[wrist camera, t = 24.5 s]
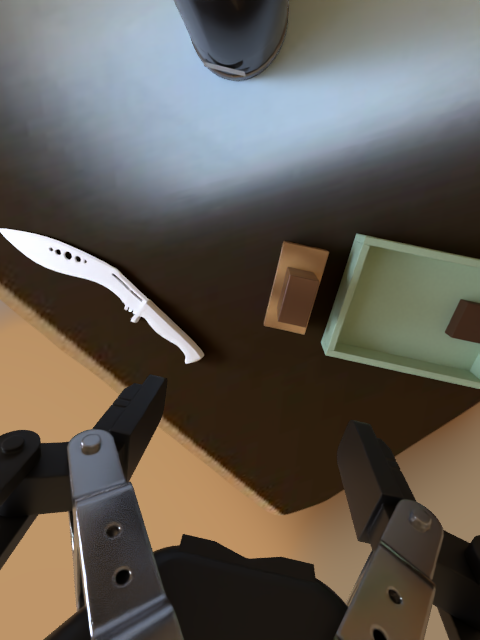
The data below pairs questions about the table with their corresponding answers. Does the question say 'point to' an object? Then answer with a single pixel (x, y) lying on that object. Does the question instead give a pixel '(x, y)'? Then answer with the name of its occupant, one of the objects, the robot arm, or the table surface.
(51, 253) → the knife
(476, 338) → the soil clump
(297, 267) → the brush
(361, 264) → the tray
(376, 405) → the table surface
